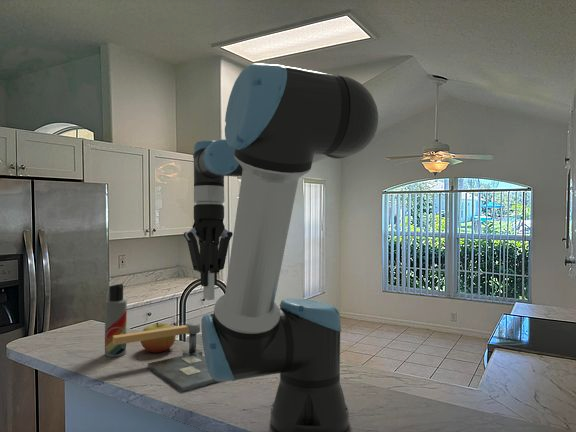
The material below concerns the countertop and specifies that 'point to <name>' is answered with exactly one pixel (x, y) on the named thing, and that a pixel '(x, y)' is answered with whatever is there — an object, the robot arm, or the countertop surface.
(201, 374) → the plate
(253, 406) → the countertop surface
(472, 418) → the countertop surface
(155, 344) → the apple
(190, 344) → the post
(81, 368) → the countertop surface
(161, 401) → the countertop surface
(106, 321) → the lotion bottle
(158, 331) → the cable arm
